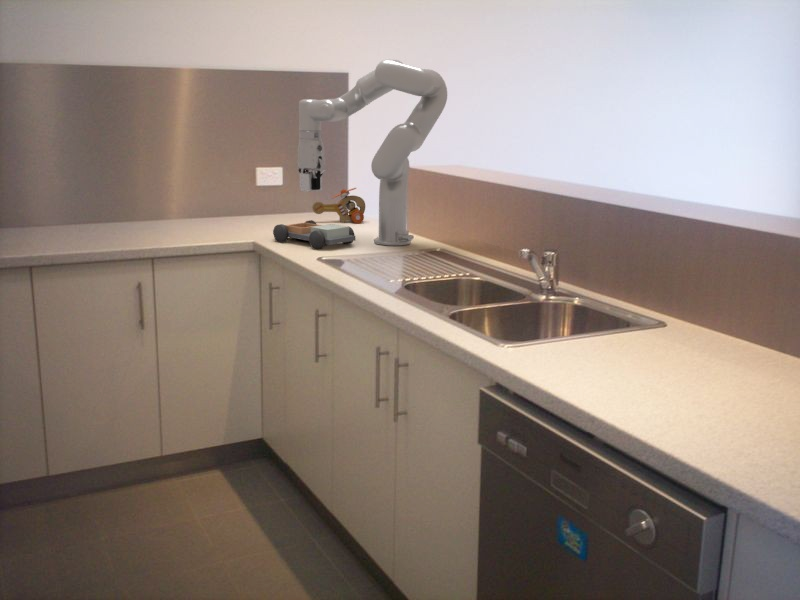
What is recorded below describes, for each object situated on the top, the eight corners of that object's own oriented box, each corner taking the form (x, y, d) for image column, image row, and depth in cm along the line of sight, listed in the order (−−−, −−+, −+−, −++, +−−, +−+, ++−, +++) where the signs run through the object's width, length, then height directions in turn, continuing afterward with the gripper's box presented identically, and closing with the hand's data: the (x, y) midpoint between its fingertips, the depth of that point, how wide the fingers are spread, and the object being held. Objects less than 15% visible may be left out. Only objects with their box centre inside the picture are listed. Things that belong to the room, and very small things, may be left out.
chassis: (358, 245, 296) (358, 226, 295) (325, 251, 285) (325, 231, 284) (302, 235, 314) (302, 217, 313) (269, 240, 303) (269, 221, 302)
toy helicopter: (366, 223, 344) (367, 188, 341) (313, 224, 340) (313, 188, 337) (363, 220, 352) (363, 186, 349) (311, 221, 348) (311, 186, 345)
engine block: (322, 190, 308) (322, 171, 307) (309, 191, 304) (308, 172, 302) (312, 189, 312) (312, 170, 310) (299, 190, 307) (299, 171, 306)
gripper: (335, 136, 300) (335, 190, 304) (302, 134, 312) (303, 186, 316) (318, 137, 295) (318, 191, 299) (286, 135, 306) (287, 187, 311)
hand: (311, 188), depth 308 cm, fingers closed on engine block, 5 cm apart
